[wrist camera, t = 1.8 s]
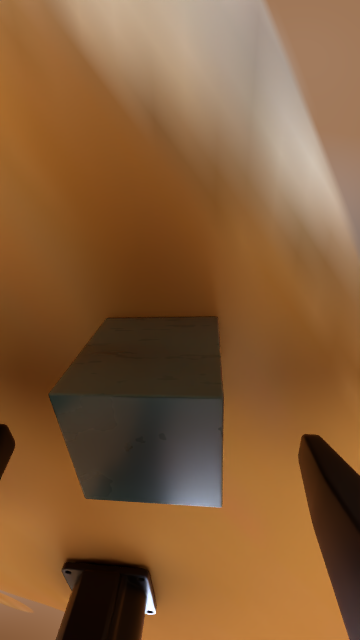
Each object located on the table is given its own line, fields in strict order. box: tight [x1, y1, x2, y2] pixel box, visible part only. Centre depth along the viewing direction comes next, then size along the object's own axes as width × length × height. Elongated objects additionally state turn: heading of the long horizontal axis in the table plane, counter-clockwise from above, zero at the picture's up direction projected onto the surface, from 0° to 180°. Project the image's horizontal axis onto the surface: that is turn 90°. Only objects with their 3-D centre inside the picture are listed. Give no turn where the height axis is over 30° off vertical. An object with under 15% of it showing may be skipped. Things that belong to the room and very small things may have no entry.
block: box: [49, 317, 224, 507], centre depth 9 cm, size 4×4×4 cm
